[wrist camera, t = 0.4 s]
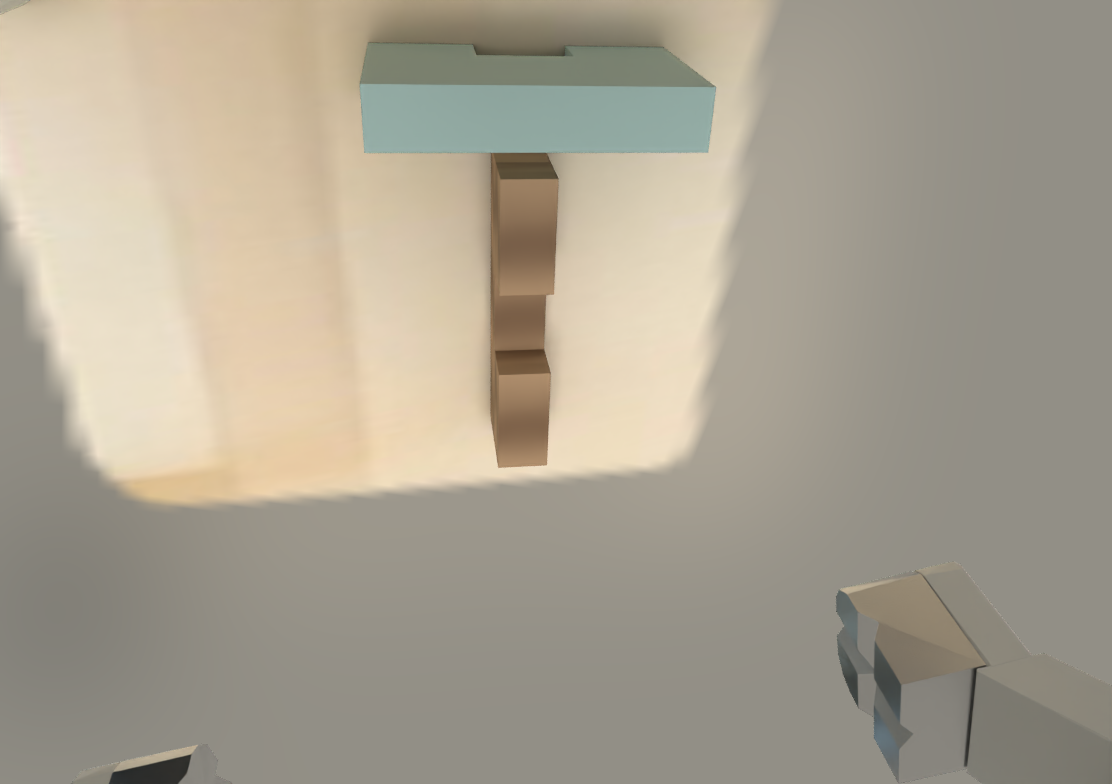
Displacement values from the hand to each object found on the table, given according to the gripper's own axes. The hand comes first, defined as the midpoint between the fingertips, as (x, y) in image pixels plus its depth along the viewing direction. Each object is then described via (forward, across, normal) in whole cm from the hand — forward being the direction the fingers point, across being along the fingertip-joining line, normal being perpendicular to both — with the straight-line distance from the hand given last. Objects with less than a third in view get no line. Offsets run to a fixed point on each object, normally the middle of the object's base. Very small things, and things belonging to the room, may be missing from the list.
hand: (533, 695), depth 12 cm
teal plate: (+43, -4, +2) cm, 44 cm away
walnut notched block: (+43, -1, +15) cm, 46 cm away
